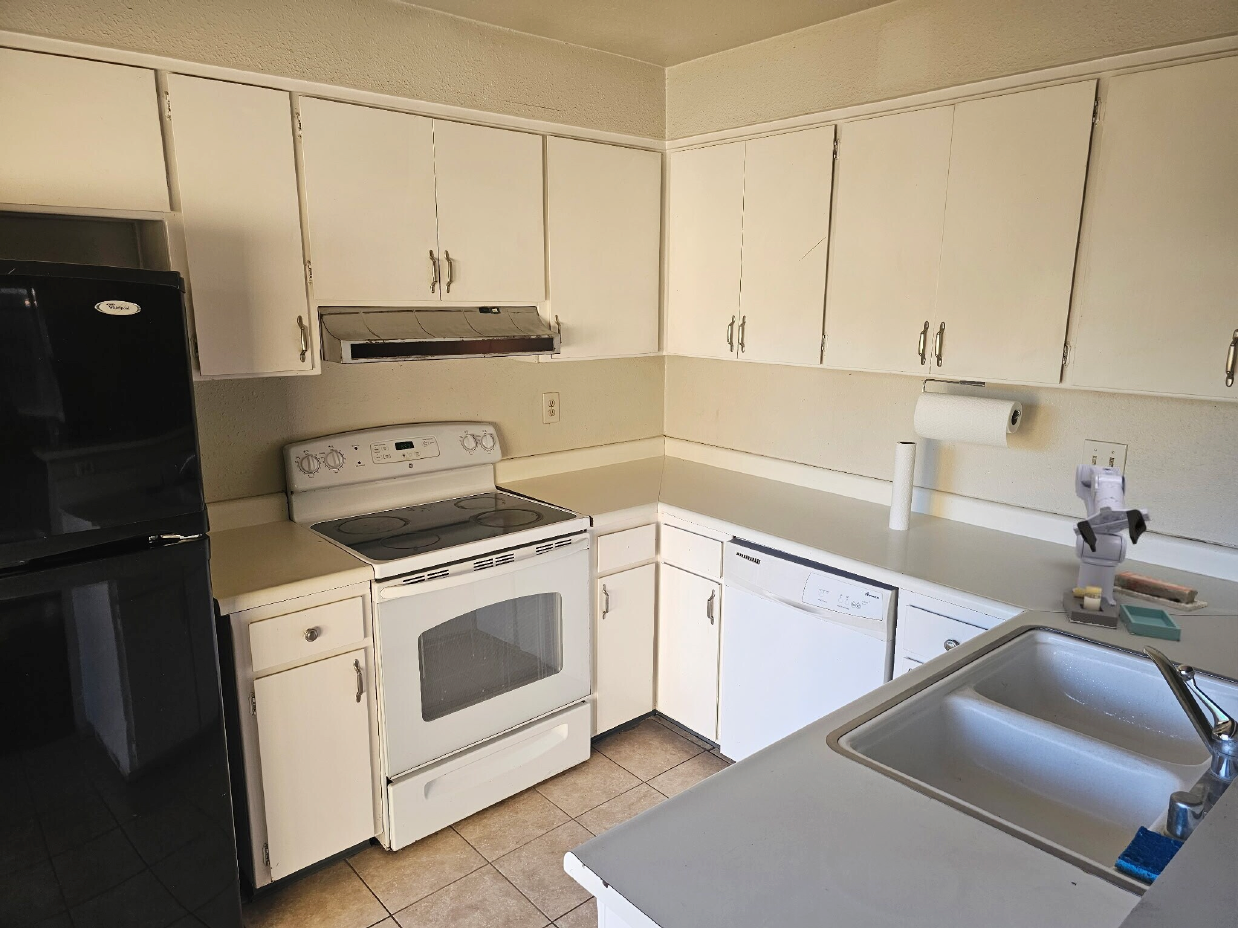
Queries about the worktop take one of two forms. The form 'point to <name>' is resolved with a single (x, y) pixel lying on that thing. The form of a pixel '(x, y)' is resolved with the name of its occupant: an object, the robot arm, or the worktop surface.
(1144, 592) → the packaged product
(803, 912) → the worktop surface
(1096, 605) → the cylinder
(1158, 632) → the parts tray
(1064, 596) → the fuse board
